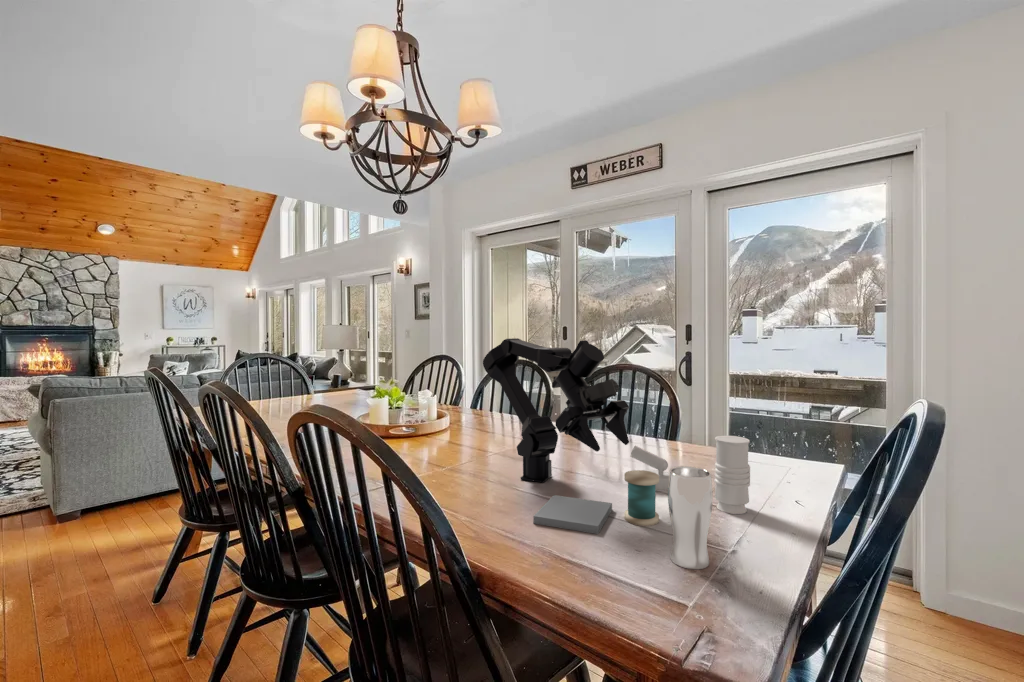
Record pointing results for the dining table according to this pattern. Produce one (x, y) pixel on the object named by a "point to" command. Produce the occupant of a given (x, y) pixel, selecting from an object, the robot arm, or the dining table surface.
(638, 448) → the white spotlight lamp
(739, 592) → the dining table surface
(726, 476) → the white ribbed cylinder
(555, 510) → the slate board
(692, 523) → the metal tumbler
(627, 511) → the cord spool
